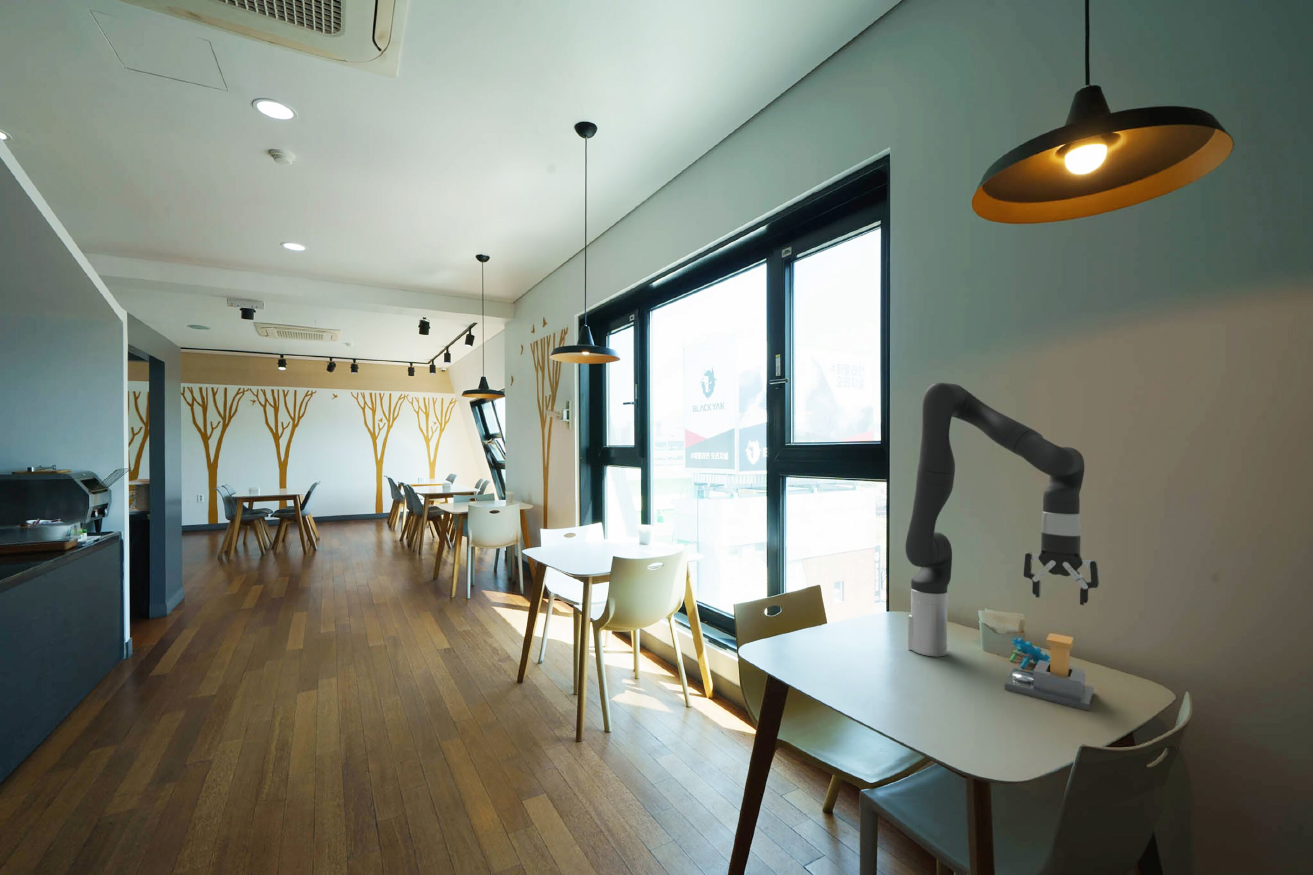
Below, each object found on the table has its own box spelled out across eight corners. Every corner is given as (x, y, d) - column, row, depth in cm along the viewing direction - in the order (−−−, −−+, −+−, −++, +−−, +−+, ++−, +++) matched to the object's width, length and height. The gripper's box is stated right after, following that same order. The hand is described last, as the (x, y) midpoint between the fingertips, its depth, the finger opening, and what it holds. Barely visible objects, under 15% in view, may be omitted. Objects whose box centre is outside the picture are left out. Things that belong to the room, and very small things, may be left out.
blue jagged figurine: (1064, 667, 144) (1036, 640, 144) (1051, 685, 143) (1023, 658, 143) (1030, 657, 155) (1004, 631, 155) (1017, 674, 154) (991, 648, 154)
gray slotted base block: (1004, 689, 135) (1004, 666, 135) (1014, 674, 144) (1014, 652, 144) (1088, 710, 124) (1089, 685, 125) (1093, 693, 133) (1093, 669, 134)
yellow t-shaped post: (1046, 687, 133) (1046, 639, 133) (1049, 679, 137) (1050, 632, 137) (1070, 693, 130) (1070, 644, 130) (1073, 685, 134) (1073, 637, 134)
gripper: (1022, 529, 135) (1021, 597, 135) (1097, 537, 126) (1096, 610, 126) (1027, 526, 141) (1026, 591, 141) (1100, 533, 131) (1099, 603, 131)
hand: (1059, 600), depth 133 cm, fingers open, 8 cm apart
